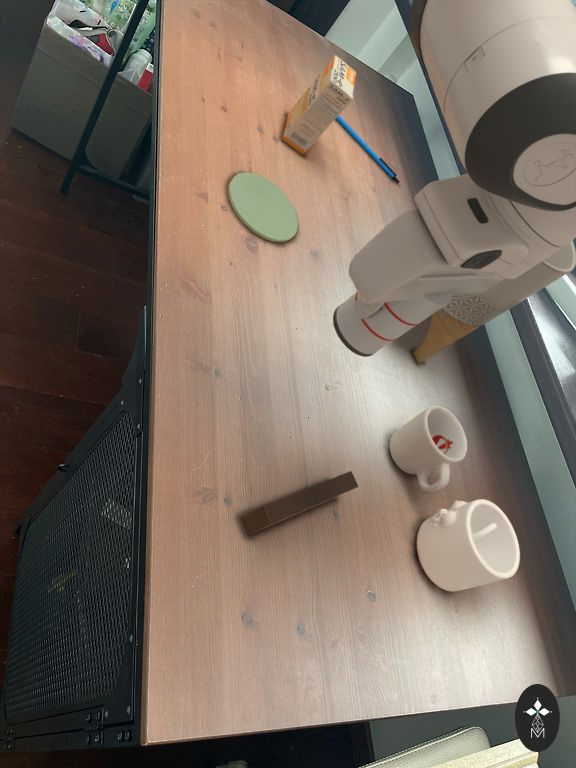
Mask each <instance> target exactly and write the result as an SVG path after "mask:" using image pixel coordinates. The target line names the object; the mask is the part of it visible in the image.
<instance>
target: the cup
mask: <svg viewBox="0 0 576 768" xmlns="http://www.w3.org/2000/svg"><path fill="white" fill-rule="evenodd" d="M389 451H390V456H391V458H392V460H393V462H394V463H395V465H396V466H397V467H398V468H399V469H400V470H402V471H403V473H406V474H410V475H416V478H417V483H418V486H419V487H420V489H421V490H422V491H425V492H427V493H435V492H436V493H437V492H440V491H441V490H443V489H445V488H446V487H447V485H448V484H449V481H450V477H451V476H450V475H451V472H450V469H451V468H450V467H451V465H454V464H458V463H460V462H461V461H463V460H464V458H465V457H466V455H467V452H468V440H467V436H466V433H465V430H464V428H463V426H462V424H461V422H460V421H459V419H458V418H457V417H456V416H455V414H453V412H451V411H450V410H449V409H448V408H446V407H444V406H442V405H431V406H428V407H427V408H426V409H424V410H423V411H421V412H420V413H418V414H417V415H416V416H414V417H413V418H411V419H410V420H409V421H407V422H406V423H404V424H403V425H401V426H400V427H399V428H397V429H396V430H395V431H394V432H393V433H392V435H391V437H390V439H389ZM436 471H437V472H438V474H439V477H438V479H437V481H436V482H435V483H433V484H431V485H430V484H429V483H428V478H429V475H430V474H432V473H434V472H436Z"/></svg>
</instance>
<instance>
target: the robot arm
mask: <svg viewBox="0 0 576 768" xmlns="http://www.w3.org/2000/svg"><path fill="white" fill-rule="evenodd" d="M408 28H409V36H410V40H411V44H412V47H413V49H414V50H415V52H416V54H417V57H418V58H419V60H420V62H421V65H422V66H423V69H424V71H425V72H426V74H427V76H428V78H429V81H430V84H431V86H432V88H433V91H434V94H435V98H436V99H437V103H438V105H439V108H440V111H441V113H442V116H443V119H444V122H445V124H446V126H447V128H448V129H447V130H448V132H449V134H450V137H451V140H452V142H453V145H454V148H455V151H456V153H457V155H458V158H459V161H460V163H461V165H462V167H463V168H464V170H465V172H467V173H465V174H460V175H457V176H454V177H449V178H443V179H437V180H434V181H431V182H429V183H428V184H426V185H425V186H423V187H422V189H420V190H419V191H418V192H417V193H416V195H415V196H414V202H415V204H416V207H413V208H410V209H407V210H406V211H404V212H402V213H401V214H400V215H398V216H397V217H395V218H394V219H393V220H392V221H390V222H389V223H388V224H387V225H386V226H385V227H383V229H381V230H379V232H378V233H377V234H376V235H375V236H373V237H372V238H371V239H370V241H368V242H367V243H366V244H365V245H364V246H363V247H362V248H361V249H360V250H359V251H358V252H357V253H356V254H355V255H354V256H353V258H351V261H350V264H349V265H348V275H349V278H350V280H351V282H352V284H353V286H354V288H355V290H356V292H358V294H359V296H360V298H359V299H358V300H356V301H355V302H354V309H355V311H356V313H357V315H358V317H359V318H360V319H365V318H372V317H374V316H375V315H376V314H378V313H379V312H381V311H382V310H383V309H382V307H381V306H382V305H383V304H384V303H385V302H394V301H405V300H415V299H418V298H420V297H422V296H423V295H433V294H445V293H452V296H461V295H472V294H480V293H482V292H485V291H487V290H489V289H491V288H492V287H494V286H495V285H497V284H498V283H500V282H501V281H503V280H504V279H505V278H506V279H515V278H517V277H519V276H520V275H522V274H523V273H525V272H526V271H528V270H529V269H531V268H533V267H534V266H536V265H537V264H539V263H540V262H542V261H543V260H545V259H546V258H548V257H549V256H551V255H552V254H554V253H556V252H557V251H559V250H560V249H562V248H563V247H565V246H566V245H568V244H569V243H570V242H572V241H573V242H574V240H575V239H576V6H575V5H574V4H573V2H572V0H412V1H411V5H410V11H409V21H408Z"/></svg>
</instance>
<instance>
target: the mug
mask: <svg viewBox="0 0 576 768" xmlns="http://www.w3.org/2000/svg"><path fill="white" fill-rule="evenodd" d="M416 551H417V556H418V560H419V562H420V565H421V568H422V569H423V571H424V573H425V574H426V576H427V577H428V578H429V580H431V582H432V583H433V584H434V585H436V586H437V587H438V588H440V589H442V590H444V591H447V592H461V591H464V590H468V589H473V588H476V587H481V586H484V585H488V584H493V583H497V582H500V581H504V580H507V579H511V578H512V577H513V576H514V575H515V574H516V573H517V571H518V569H519V566H520V561H521V552H520V551H521V549H520V545H519V541H518V537H517V533H516V531H515V529H514V527H513V525H512V523H511V521H510V520H509V518H508V517H507V515H506V514H505V512H504V511H503V510H502V509H501V508H500V507H499V506H498V505H497V504H495V503H494V502H492V501H490V500H488V499H483V498H481V499H475V500H472V501H468V502H467V501H463V500H454V502H453V503H452V505H451V506H450V508H448V509H446V508H441V509H439V510H438V511H437V513H435V514H434V515H433V516H430V517H429V518H427V519H425V520H424V521H423V522H422V524H421V525H420V527H419V529H418V531H417V537H416Z"/></svg>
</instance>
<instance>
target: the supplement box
mask: <svg viewBox="0 0 576 768" xmlns="http://www.w3.org/2000/svg"><path fill="white" fill-rule="evenodd" d="M356 79H357V72H356V71H355V70H354V69H353V68H352V67H350V66H349V65H348V64H347V63H346V62H345V61H344V60H342V59H341V58H340V57H339V56H338V55H336V54H335V55H333V57H332V58H331V60H330V61H329V62H328V63H327V64H326V66H325V67H324V68H323V70H322V71H320V73H319V75H317V77H316V78H315V79H314V81H313V82H312V83H311V84H310V85H309V87H307V89H306V90H305V91H304V93H303V94H302V95H301V96H300V98H299V99H298V100H297V102H296V103H295V104H294V105H293V107H292V108H291V109H290V110H289V111H288V113H287V117H286V122H285V128H284V131H283V133H282V139H281V140H282V141H283V142H284V143H286V144H287V145H289V146H290V147H291V148H292V149H294V150H296V151H297V152H298V153H299V154H301V155H302V156H303V155H305V154H306V153H307V151H309V150H310V148H311V147H312V146H313V145H314V144H315V143H316V142H317V141H318V139H319V138H320V137H321V136H322V135H323V134H324V132H325V131H326V130H327V129H328V128H329V127H330V126H331V125H332V124H333V122H334V121H335V120H336V118H337V117H338V116H340V115H341V114H342V112H343V111H344V110H346V108H347V107H348V106H349V104H350V103H351V102H352V101H353V100H354V94H355V87H356V81H357V80H356Z"/></svg>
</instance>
